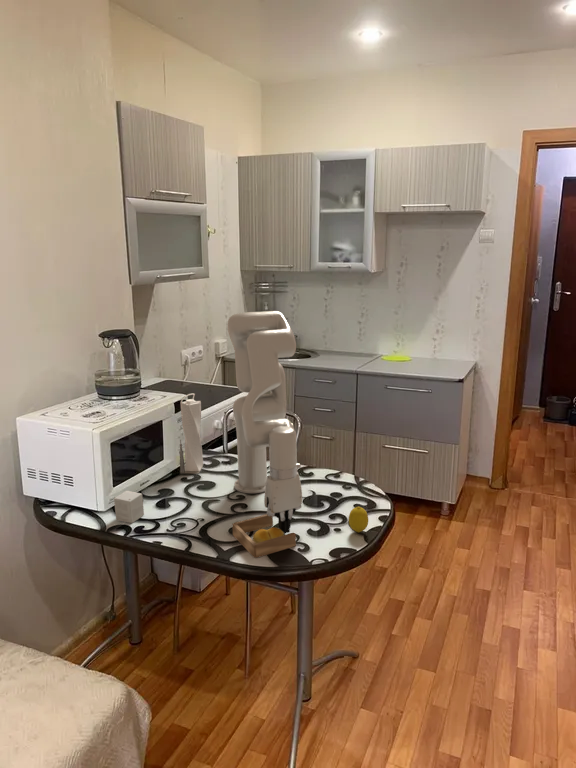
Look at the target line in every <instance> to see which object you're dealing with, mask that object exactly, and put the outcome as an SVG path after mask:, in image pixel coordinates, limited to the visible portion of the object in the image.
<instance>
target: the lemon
mask: <svg viewBox="0 0 576 768" xmlns="http://www.w3.org/2000/svg"><path fill="white" fill-rule="evenodd" d="M348 524H349V527H350V528H351V529H352V531H355V532H356V533H358V534H359V533H360V532H363V531H365V530H366V529H367V528H368V524H369V515H368V513H367V510H366V509H364V508H363V507H361V506H355V507H353V508H352V509H351V510H350V513H349V516H348Z"/></svg>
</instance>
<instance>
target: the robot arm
mask: <svg viewBox="0 0 576 768" xmlns="http://www.w3.org/2000/svg"><path fill="white" fill-rule="evenodd" d="M227 320H228V321H227V332H228V336H229V339H230V341H231V344H232V346H233V349H234V358H235V359H234V360H235V361H234V362H235V365H234V366H235V380H236V381H235V382H236V386H237V390H239V391H240V392H242V393H246V394H247V393H248V394H247V395H245V396H241V397H238V398H237V399H236V400H235V401H234V403H233V404H232V411H233V412H232V414H233V418H234V423H235V430H236V442H237V443H236V444H237V445H236V447H237V449H236V450H237V465H238V466H237V469H238V470H237V473H238V479H237V480H235V481H234V484H233V485H234V489H235V490H236V491H238V492H240V493H244V494H250V495H251V494H253V495H254V494H259V493H264V500H263V501H264V507H265V508H266V514H267V515H268V516H269V517H273V518H274V517H276V518H277V519H278V528H279V529H280V530H282V531H283V533H284V535H286V534H289V533H290V532H291V529H290V528H291V519H292V518H293V515H294V514H295V512H297V511H298V510H300V509H302V507H303V506H302V504H303V490H302V488H303V487H302V483H301V479H300V474H299V472H298V469H301V464H300V463H298V460H297V458H298V456H297V453H298V452H297V451H298V450H297V448H298V447H297V432H296V429H295V426H294V424H293V423H292V422H291V421H290V420H289V419H288V418H285V417H286V414H287V393H286V392H287V391H286V387H287V386H286V381H287V380H286V374H285V373H286V372H285V369H284V367H283V365H282V364H281V363H280V362H279V359H281V358H291V357H293V356H295V353H296V351H297V342H296V337H295V335H294V331H293V330H292V328H291V326H290V323H289V322H288V321H287V319H286V317H285V315H284V314H283V313H282V312H280V311H278V310H266V311H249V312H247V311H245V312H238V313H234V314H232V315H230V317H229V318H228V319H227ZM268 392H270V393H268ZM267 447H268V451H269V453H268V454H269V457H268V458H269V475H268V473H267V471H268V469H267Z"/></svg>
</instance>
